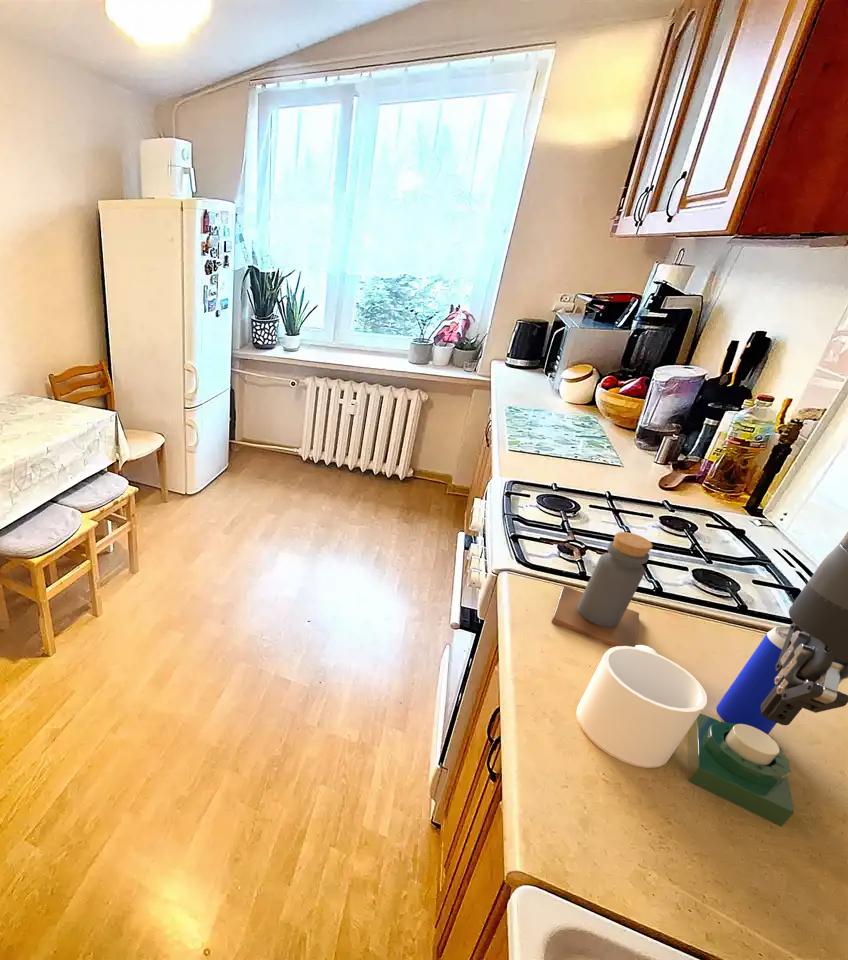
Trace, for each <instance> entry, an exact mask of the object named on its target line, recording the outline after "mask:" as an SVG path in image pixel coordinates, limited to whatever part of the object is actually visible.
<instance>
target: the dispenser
mask: <svg viewBox="0 0 848 960" xmlns="http://www.w3.org/2000/svg"><path fill="white" fill-rule="evenodd" d="M734 725H736V724H734V723H727V722H722V721H721V720H717V719H716V718H713V717H711V716H708V715H706V714H703V713H702V712H701V713H700V714H699V716H698V717H697V718H696V720H695V721H694V723H693V724H692V726H691V727H690V729H689V730H688V732H687V743H688V744H687V747H688V749H687V750H688V751H687V752H688V753H687V754H688V783H691V784H693V785H694V786H697V787H699V788H701V789H703V790H705V791H708V792H709V793H712V794H714V795H715V796H717V797H720V798H722V799H724V800H725V801H728V802H730V803H732V804H734V805H736V806H738V807H739V808H742V809H744V810H745V811H748V812H751V813H752V814H755V815H757V816H759V817H760V818H762V819H764V820H766V821H769V822H771V823H773V824H775V825H777V826H779V827H783V826H784V825H785V824H786V823H787V822H788V820H789V819H790V818H792V816H793V815H794V814H795V808H794V803H793V797H792V791H791V788H790V782H789V775H790V774H791V771H792V770H791V765H790V760H789V759H788V757H787V756H786V755H785V754H784V751H783V747H781V746H779V750H780V751H779V753H778V755H777V756H776V757H775V758H774V759H773V761H772V762H771V763H770V764H769V765H766V766H762V765H757V764H755V763H752V762H750V761H748V760H746V759H744V758H742V757H741V756H739V755H738V754H737V753H735V752H734V751H733V750H731V749H730V747H729V746H728V745H727V744H726V742H725V737H726V736H727V734H728V733H729V732H730V730H731V729H732V728H733V726H734Z"/></svg>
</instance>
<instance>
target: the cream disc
mask: <svg viewBox="0 0 848 960" xmlns="http://www.w3.org/2000/svg"><path fill="white" fill-rule="evenodd" d="M725 742H726V744H727V745H728V746H729V747H730V749H731V750H733V751H734V752H735V753H737V754H738V755H739V756H741V757H742V758H744V759H746V760H748V761H750V762H752V763H755V764H757V765H762V766H766V765H769V764H770V763H771V762H772V761H773V759H774V758H775V757H776V756H777V755H778V753H779V751H780V750H779V747H780V746H779V744H778V743H777V742H776V741H775V740H774V739H773V738H772V737H771V736H770V735H769V734H768V735H767V734H766V733H764V732H762V731H761V730H759V729H757V728H755V727H752V726H749V725H745V724H736V725H734V726H733V728H732V729H731V730H730V732H729V733H728V734H727V736H726V737H725Z"/></svg>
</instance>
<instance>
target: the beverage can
mask: <svg viewBox="0 0 848 960" xmlns="http://www.w3.org/2000/svg"><path fill="white" fill-rule="evenodd" d="M789 627H790V626H788V625H779V626H775V627H774V628H772V629H770V630H769V631H768V632H766V634H765V635H764V637H763V639H761V641H760V643H759V644H758V645H757V647H756V648H755V650H754V651H753V653H752V654H751V656H750V657H749V659H748V660H747V661H746V663H745V664H744V666H743V667H742V669H741V670H740V672H739V673H738V674H737V676H736V677H735V679H734V680H733V682H732V683H731V685H730V686H729V688H728V689H727V691H726V692H725V693H724V695H723V696H722V698H721V699H720V701H719V703H718V704H717V705H716V707H715V709H716V714H717V716H718V718H719V719H720V722H727V723H734V724H745V725H749V726H752V727H755V728H757V729H759V730H761V731H762V732H764V733H766V734H767V735H768V736H769V734H770V732H772V730H773V729H774V727H775V726H776V725H777V723H776V722H774V721H771V720H769V719H766V718H764V717H763V716H762V712H761V704H762V703H763V701H764V700H765V699H766V697H767V696H768V695H769V693H770V692H771V691H772V689H773V688H774V687H775V685H776V684H775V680H774V679H775V677H777V675H778V674H779V672H778V671H776V667H775V666H776V664H777V662H778V659H779V657H780V654H781V651H782V648H783V646H784V643H785V640H786V637H787V635H788V632H789V629H790V628H789ZM777 686H778V685H777Z"/></svg>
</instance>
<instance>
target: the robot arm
mask: <svg viewBox="0 0 848 960" xmlns="http://www.w3.org/2000/svg"><path fill="white" fill-rule="evenodd" d="M788 615H789V618H790V619H791V621H792V623H791V624H790V625H789V626H788V627H789V628H790V629H789V632H788V635H787V637H786V640H785V643H784V646H783V648H782V651H781V654H780V657H779V659H778V662H777V664H776V666H775V667H776V671H778V672H779V674H778V675H777V677H775V679H774V680H775V684H776V685H775V687H774V688H773V689H772V691H771V692H770V693H769V695H768V696H767V697H766V699H765V700H764V701H763V703H762V704H761V712H762V716H763V717H764V718H766V719H769V720H771V721H774V722H776V724H779V725H780V726H789V725H790V724H791V723H792V722H793V720H794V719H795V718H796V717H797V715H798V714H799V713H800V712H801V711H802V709H805V710H806V711H810V712H812V713H814V714H817V713H821V712H825V711H829V710H833V709H838V708H842V707H845V706H846V705H847V704H848V694H846V693H844V692H841V691H839V685H840V684H841V683H842V682H843V681H844V680H847V679H848V531H847V533H845V535H844V537H842V539H841V540H840V542H839V543H838V544H837V546H836V547H835V548H834V549H832V551H831V552H829V553H828V554H827V555H826V557H825V558H824V559H823V560H822V561H821V563H820V564H819V565H818V567H817V569H816V570H815V571H814V573H813V574H812V575H811V577H810V579H808V581H807V583H806V584H805V586H804V587H803V588H802V590H801V591H800V593H799V594H798V595H797V597H796V599H795V600H794V601H793V602H792V604H791V605H790V607H789V609H788ZM777 685H778V686H777Z"/></svg>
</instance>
